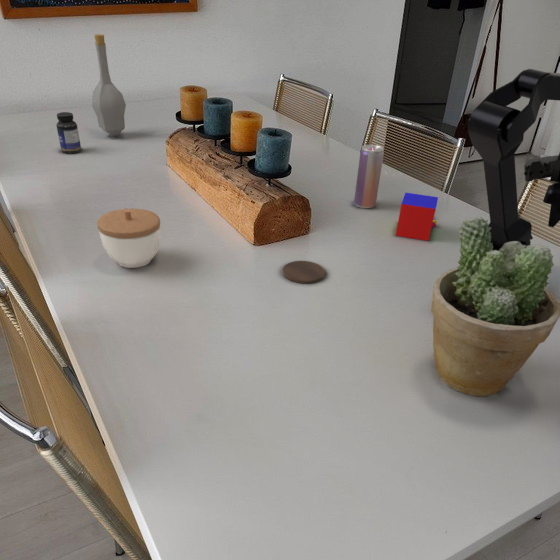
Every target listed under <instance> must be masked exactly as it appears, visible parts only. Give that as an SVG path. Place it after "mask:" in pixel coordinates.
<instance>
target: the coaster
mask: <svg viewBox="0 0 560 560" xmlns="http://www.w3.org/2000/svg"><path fill="white" fill-rule="evenodd" d="M325 274H326V270H325V268H324V267H323V266H322V265H320V264H318V263H316V262H312V261H309V260H308V261H307V260H296V261H295V260H293V261H291V262H288V263H286V264H285V265H284V266H283V267H282V275H283V276H284V278H286V279H287V280H289V281H290V282H293V283H297V284H315V283H318V282H320V281H321V280H323V279H324V277H325Z"/></svg>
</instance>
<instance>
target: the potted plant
mask: <svg viewBox="0 0 560 560" xmlns="http://www.w3.org/2000/svg"><path fill="white" fill-rule="evenodd" d="M488 221H489V220H488V219H486V218H484V217H482V216H477V217H470V218H467V219H465V220H463V221H461V222H460V225H461V227H460V228H458V233H459V235H458V236H459V238H458V239H459V243H460V248H459V249H458V251H459V253H460V256H459V260H458V261H457V263H458V264H459V265H458V266H457V267H454V268H451V269H449V270H447V271H445V272H443V273H441V274H440V275H439V277H438V278H437V279H436V280H435V282H434V285H433V289H432V290H433V291H432V299H431V303H430V312H431V314H432V317H433V323H432V324H433V325H432V335H433V336H432V345H433V357H434V365H435V371H436V373H437V376H438V378H439V379H440V381H441V382H442V383H443V384H444V385H445V386H446V387H448V388H449V389H452V390H453V391H457V392H458V393H461V394H464V395H469V396H473V397H474V396H475V397H491V396H493V395H496V394H499V393H500V392H501V391H502V390H503V389H504V388H505V386H506V385H507V384H508V383H509V382H510V381H511V380H512V379H513V377H514V376H515V375H516V374H517V373H518V372H519V371H520V370H521V369H522V368H523V366H524V365H525V364H526V362H527V361H528V360H529V358H530V357H531V356H532V355H533V353H534V352H535V351H536V349H538V347H539V345H540V344H542V343H544V342H545V341H546V340H547V339H548V338H549V336H550V335H551V333H552V331H553V329H554V327H555V325H556V324H557V322H558V320H559V318H560V301H559V300H558V299H557V297H556V296H555V295H554V293H553V292H552V291H550V290H549V288H547V285H549V282H548V280H549V278H550V277H549V276H548V275H549V274H551V273H552V272H553V271H552V267H554V265H555V263H554V262H553V258H554V257H555V255H554V254H552V253H551V252H552V250H551V249H550V247H548V246H543V245H542V244H541V243H532V244H530V245H529V246H525V245H522V244H521V243H520V242H518V241H512V242H507V243H504V245H503V247H502V248H501V249H499V251H497V250H493V246H492V245H493V244H492V243H490V241H491V240H490V239H491V236H490V235H491V233H490V232H489V231H490V229H491V228H489V226H488V225H489V223H488ZM525 247H526V248H525Z"/></svg>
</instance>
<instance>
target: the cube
mask: <svg viewBox="0 0 560 560" xmlns="http://www.w3.org/2000/svg"><path fill="white" fill-rule="evenodd" d="M438 200H439V197H438V196H432V195H425V194H418V193H412V192H404V195H403V198H402V200H401V205H400V210H399V215H398V220H397V224H396V231H395V237H401V238H408V239H412V240H413V239H414V240H420V241H426V242H429V240H430V236H431V231H432V228H433V227H432V223H433V219H435V215H436V209H437V205H438Z"/></svg>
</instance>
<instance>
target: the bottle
mask: <svg viewBox="0 0 560 560" xmlns="http://www.w3.org/2000/svg"><path fill="white" fill-rule="evenodd" d="M93 35H94V44H95V50H96V55H97V62H98V69H99V81H98V83H97V84H96V86H95V87H94V89H93V90H92V98H91V99H92V100H91V101H92V102H91V107H92V109H93V112H94V113H95V115H96V119H97V124H98V127H99V128H100V129H101V130H102V131H104V132H106V133H107V134H108V135H109V136H112V137H116V136H118V135H120V134H121V133H122V132H123V131H124V130H125V128H126V123H125V113H126V107H127V103H126V101H125V98H124V95H123V93H122V92H121V91H120V90H119V89H118V88H117V86H116V85H115V84H114V83H113V82H112V79H111V76H110V70H109V63H108V56H107V45H106V41H105V34H100V33H96V34H93Z"/></svg>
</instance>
